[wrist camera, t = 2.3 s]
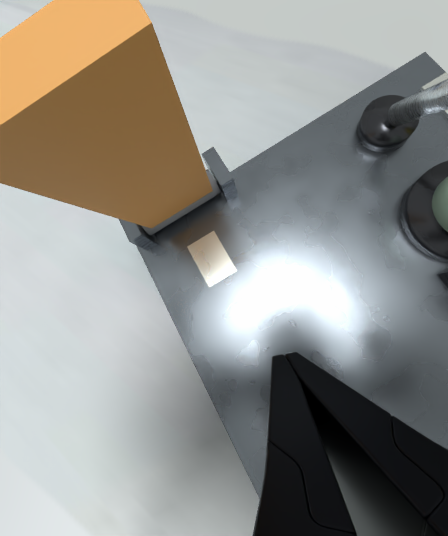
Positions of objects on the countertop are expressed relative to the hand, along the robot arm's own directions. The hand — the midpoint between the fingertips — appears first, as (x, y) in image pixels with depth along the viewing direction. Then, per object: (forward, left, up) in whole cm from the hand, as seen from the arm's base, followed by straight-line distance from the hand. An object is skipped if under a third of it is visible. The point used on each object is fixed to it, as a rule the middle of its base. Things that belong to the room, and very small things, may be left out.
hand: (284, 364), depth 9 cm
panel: (+4, -5, -8) cm, 10 cm away
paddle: (+8, +6, -5) cm, 12 cm away
